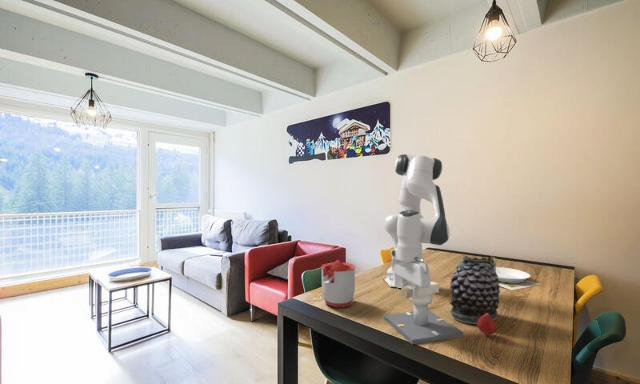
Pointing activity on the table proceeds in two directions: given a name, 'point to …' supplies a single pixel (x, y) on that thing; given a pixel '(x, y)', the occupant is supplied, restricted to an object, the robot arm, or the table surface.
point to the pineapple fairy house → (475, 289)
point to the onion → (486, 325)
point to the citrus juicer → (338, 283)
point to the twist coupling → (420, 293)
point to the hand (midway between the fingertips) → (410, 292)
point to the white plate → (511, 275)
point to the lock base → (422, 330)
